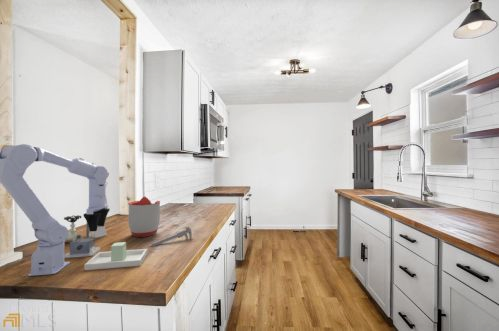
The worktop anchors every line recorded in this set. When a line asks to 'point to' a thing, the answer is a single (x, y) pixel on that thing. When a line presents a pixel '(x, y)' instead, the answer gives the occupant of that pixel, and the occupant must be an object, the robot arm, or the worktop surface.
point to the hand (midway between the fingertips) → (97, 228)
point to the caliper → (174, 236)
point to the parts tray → (104, 261)
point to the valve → (72, 229)
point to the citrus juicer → (144, 217)
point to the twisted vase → (100, 230)
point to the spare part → (118, 251)
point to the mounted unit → (82, 248)
